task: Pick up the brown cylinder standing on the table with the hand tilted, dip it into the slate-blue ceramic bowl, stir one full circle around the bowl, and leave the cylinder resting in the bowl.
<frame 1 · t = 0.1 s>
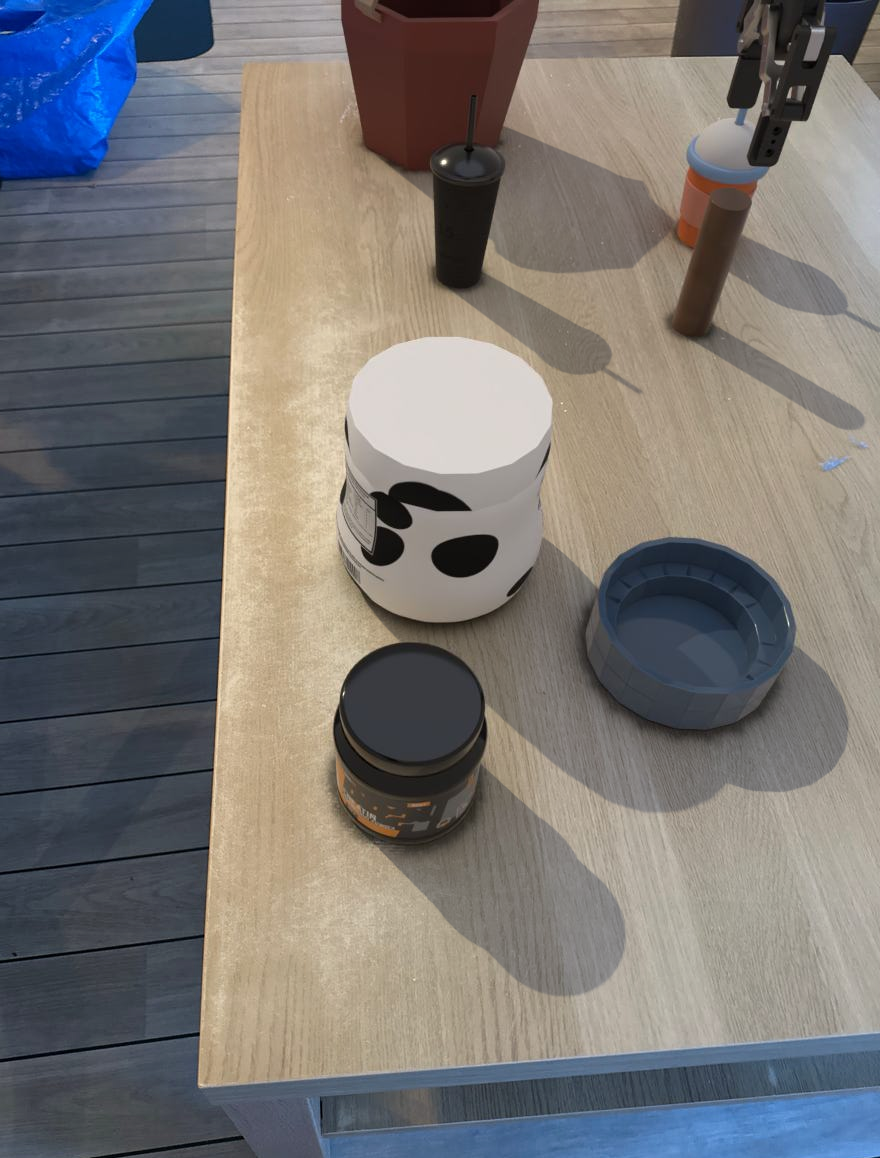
hand: (749, 134, 77), 28 cm above the table, tool pointing down, fingers open, 8 cm apart
milk container: (435, 561, 87), on the table
supplement container: (405, 785, 74), on the table
drinking cup: (457, 281, 111), on the table
bowl: (676, 654, 82), on the table
brown cylinder: (688, 329, 107), on the table
cup with straw: (702, 241, 117), on the table
bucket: (433, 144, 128), on the table
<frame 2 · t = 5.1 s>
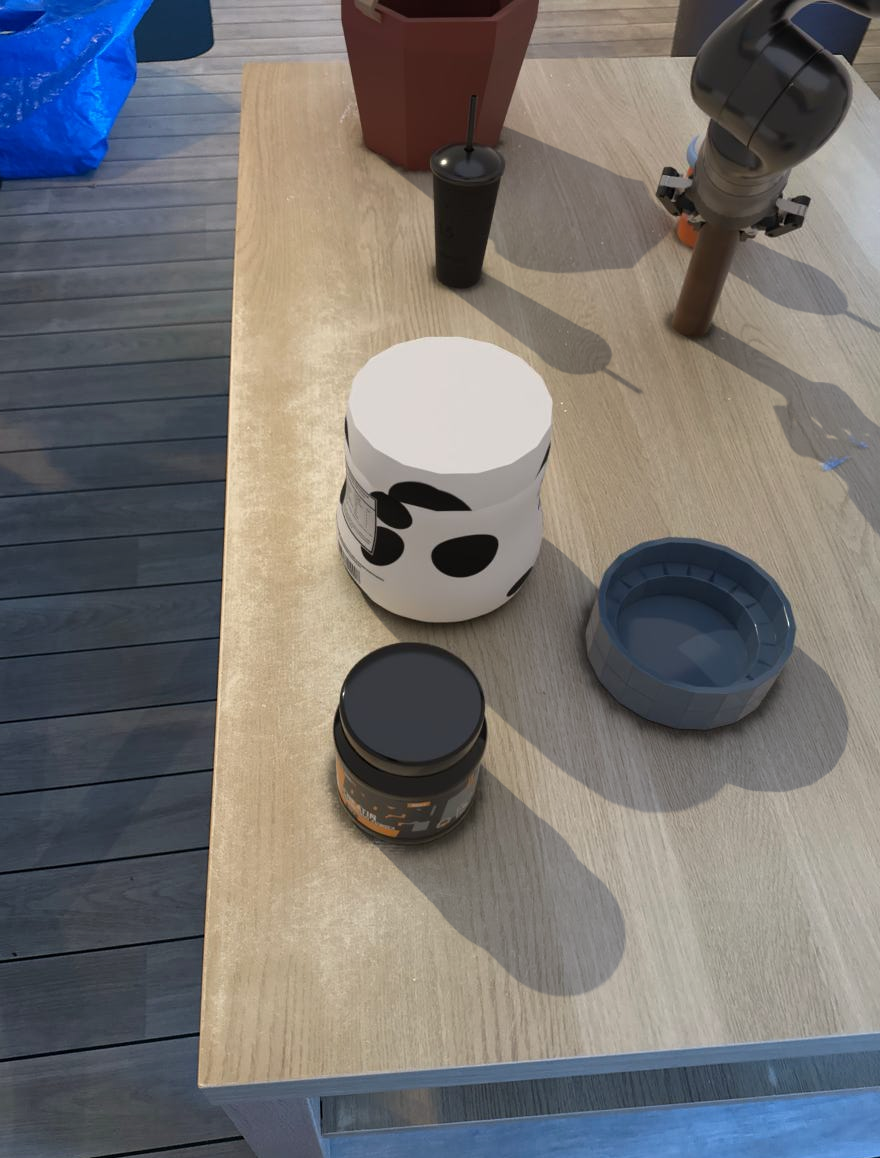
hand: (721, 226, 99), 11 cm above the table, tool tilted 45°, fingers closed on brown cylinder, 4 cm apart
brown cylinder: (688, 329, 107), on the table, touching gripper
everything else where it was.
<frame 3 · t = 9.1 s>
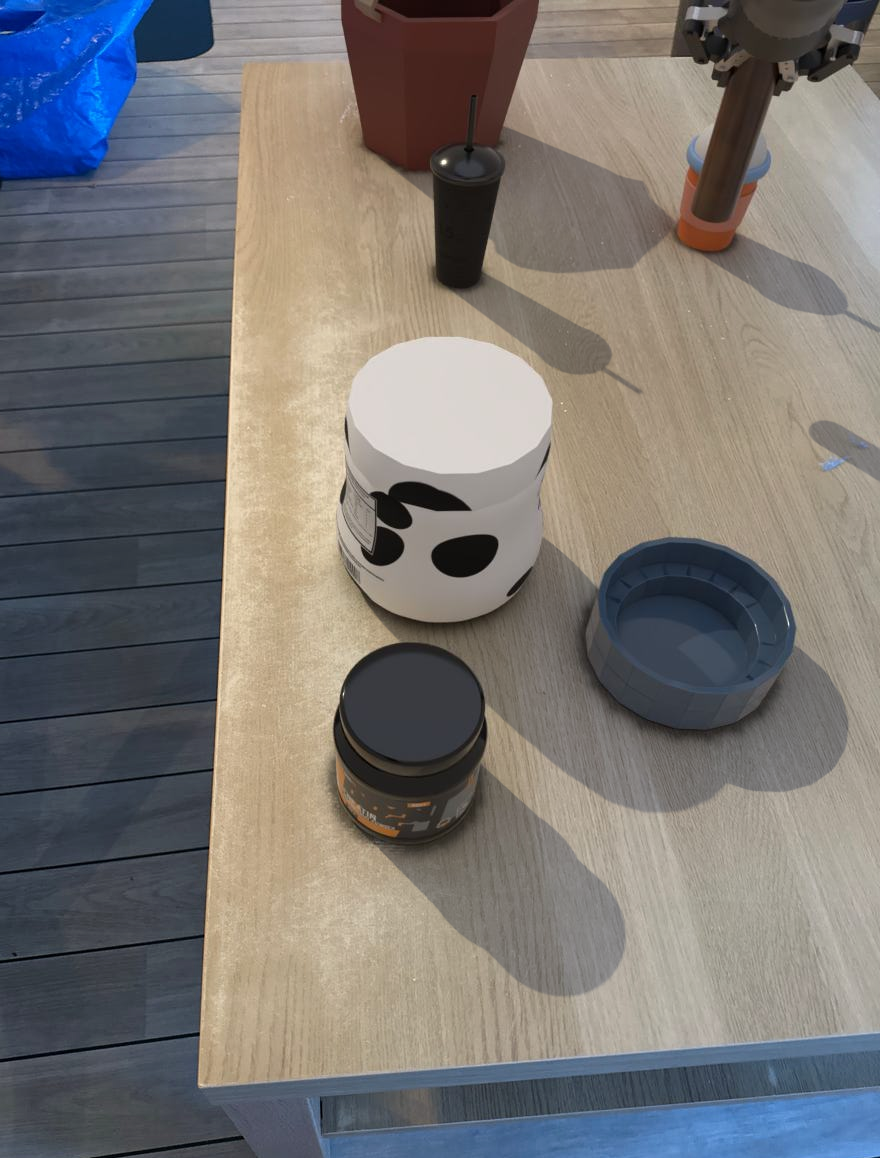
hand: (750, 79, 85), 26 cm above the table, tool tilted 45°, fingers closed on brown cylinder, 4 cm apart
brown cylinder: (711, 211, 93), point 15 cm above the table, touching gripper
everything else where it was.
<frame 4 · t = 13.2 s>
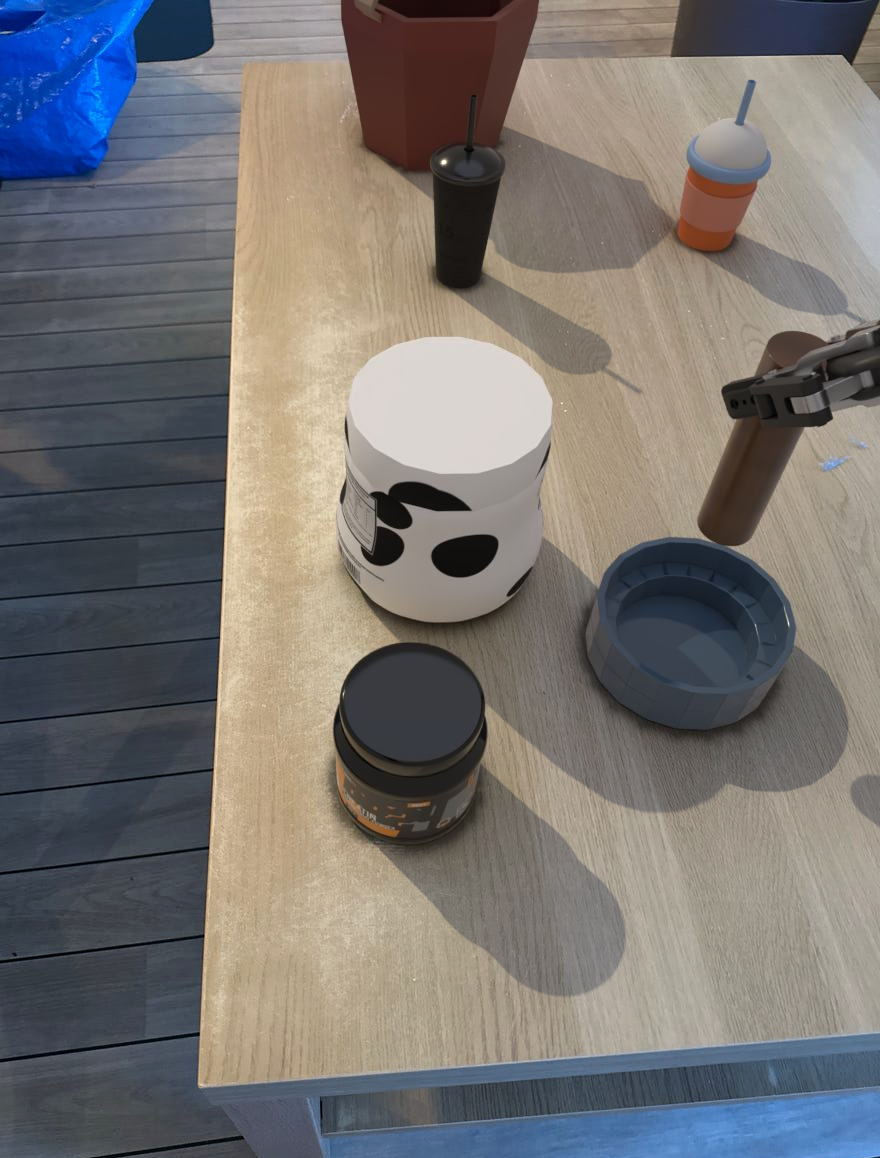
hand: (754, 387, 62), 26 cm above the table, tool tilted 45°, fingers closed on brown cylinder, 4 cm apart
brown cylinder: (725, 525, 70), point 15 cm above the table, touching gripper
everything else where it was.
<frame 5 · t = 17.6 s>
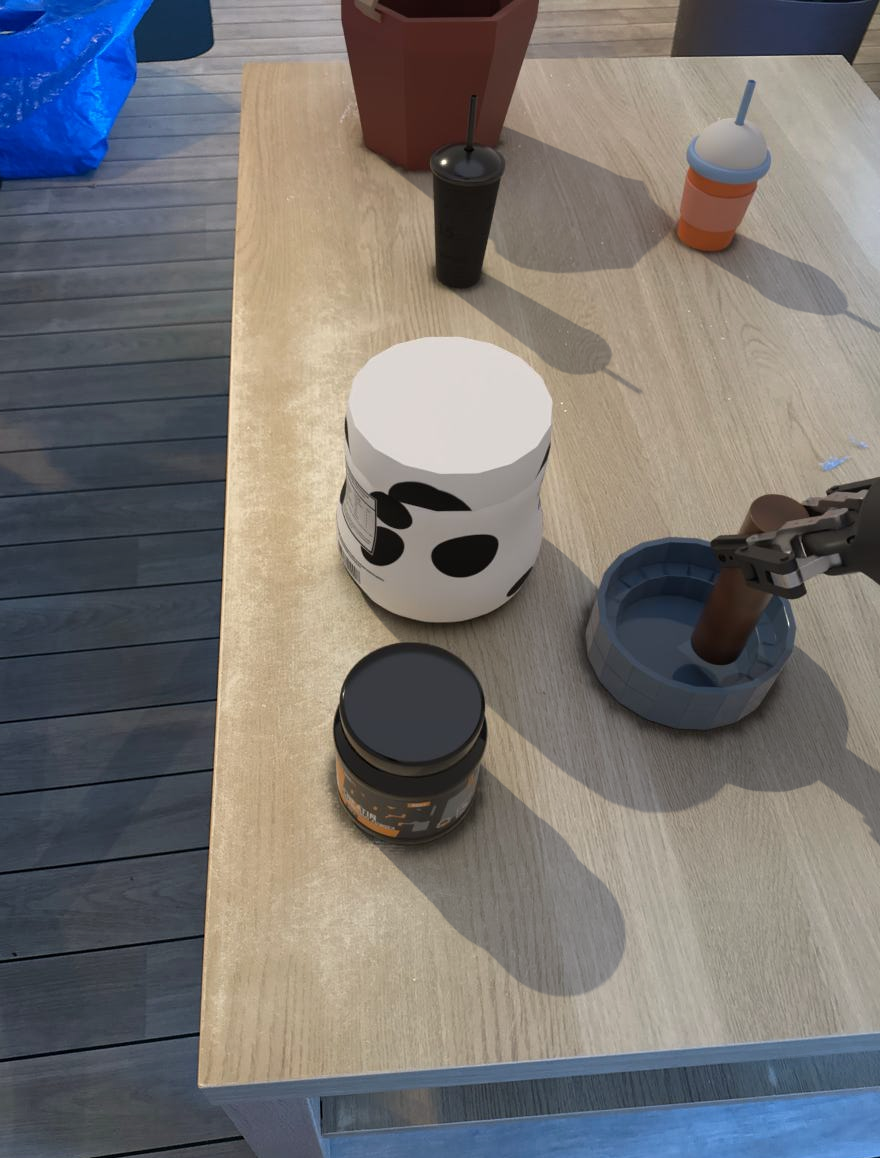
hand: (740, 537, 70), 15 cm above the table, tool tilted 45°, fingers closed on brown cylinder, 4 cm apart
brown cylinder: (715, 644, 78), point 4 cm above the table, touching gripper
everything else where it was.
when the fingers open (12 cm above the table, at t = 21.2 s): brown cylinder stays where it is, resting on bowl.
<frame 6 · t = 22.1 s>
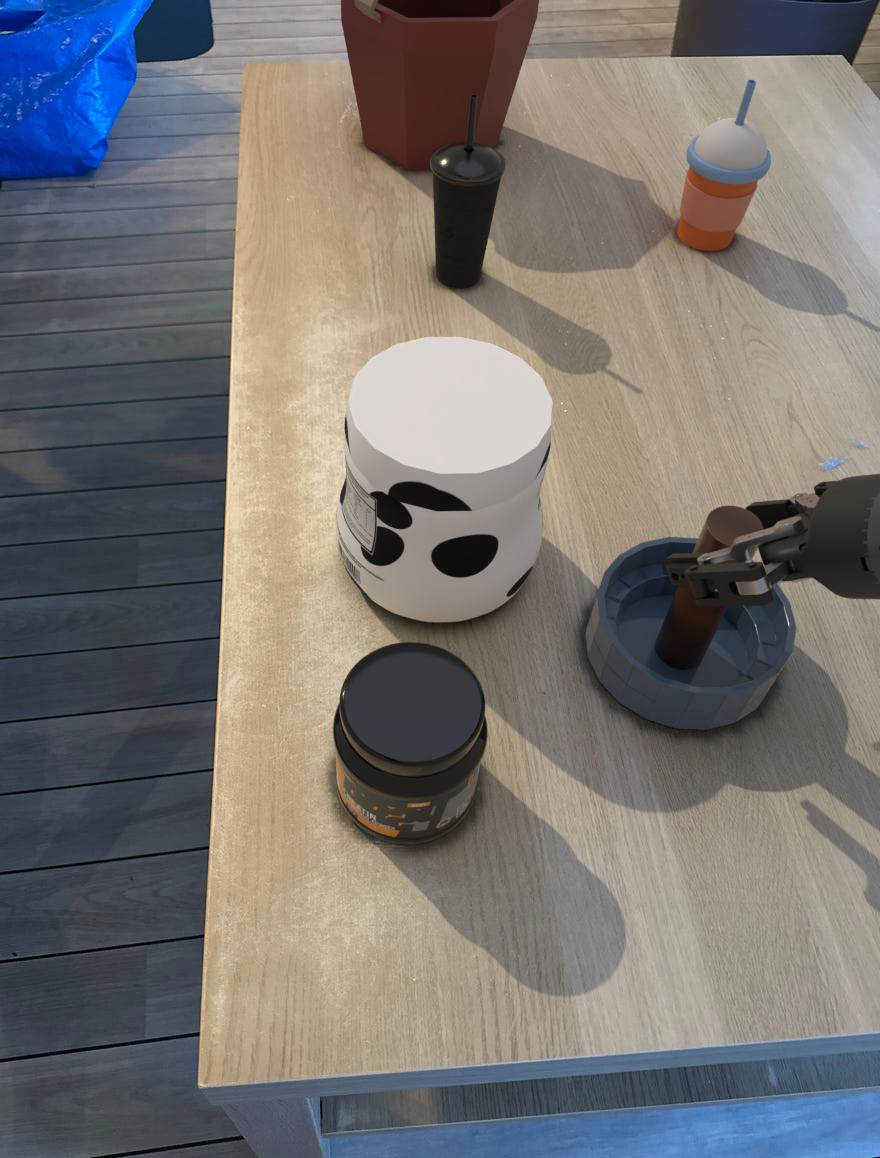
hand: (711, 543, 72), 13 cm above the table, tool tilted 45°, fingers open, 8 cm apart
brown cylinder: (679, 649, 81), point 1 cm above the table, touching bowl
everything else where it was.
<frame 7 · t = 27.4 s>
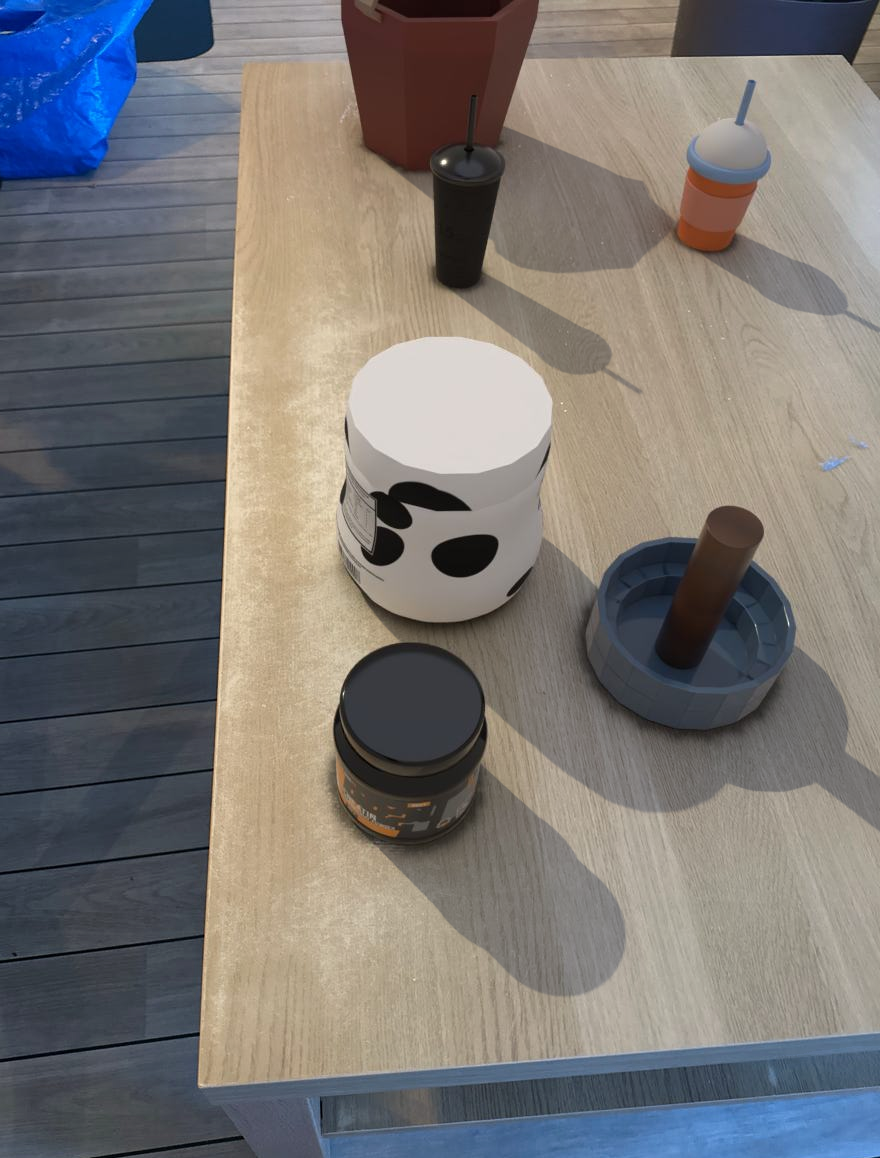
nothing on the table moved.
at the end: brown cylinder inside the target area in the bowl (0.0 cm from its centre), point 0.8 cm above the bowl's base; the gripper is holding nothing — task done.
